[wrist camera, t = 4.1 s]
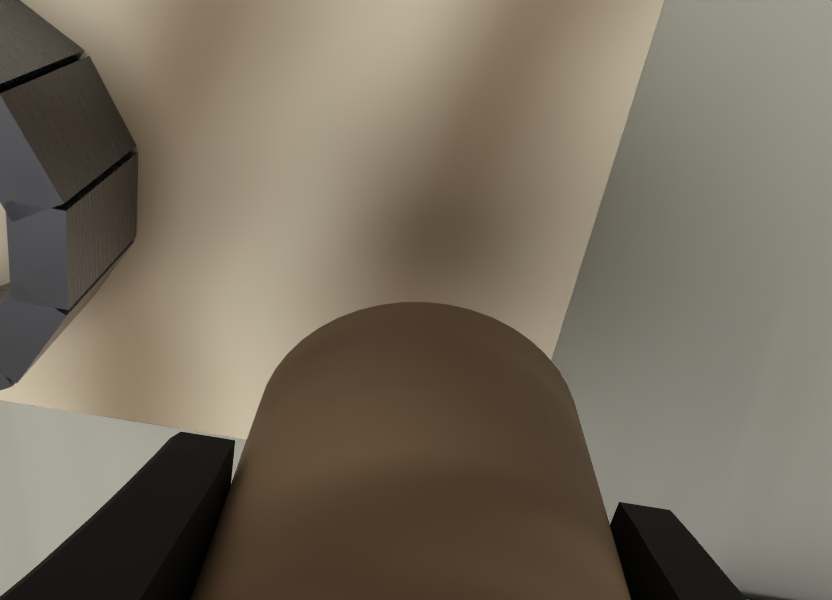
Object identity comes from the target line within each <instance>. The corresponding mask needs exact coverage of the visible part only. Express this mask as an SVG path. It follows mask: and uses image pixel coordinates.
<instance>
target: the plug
mask: <svg viewBox="0 0 832 600" xmlns="http://www.w3.org/2000/svg"><path fill="white" fill-rule="evenodd" d="M191 600H631V597H630V593H629V590H628V586H627V583H626V579H625V576H624V573H623V569H622V566H621V562H620V559H619V555H618V552H617V548H616V545H615V542H614V538H613V535H612V531H611V528H610V524H609V521H608V517H607V514H606V510H605V507H604V504H603V500H602V497H601V493H600V490H599V486H598V483H597V479H596V476H595V473H594V469H593V466H592V462H591V459H590V455H589V452H588V448H587V445H586V441H585V438H584V435H583V431H582V428H581V424H580V421H579V417H578V414H577V410H576V407H575V404H574V401H573V398H572V396H571V393H570V391H569V388H568V386H567V384H566V382H565V380H564V379H563V377H562V375H561V374H560V372H559V370H558V369H557V368H556V366H555V365H554V364H553V363H552V361H551V360H550V359H549V358H548V357H547V355H546V354H545V353H544V352H543V351H542V350H541V349H539V348H538V347H537V346H536V345H535V344H534V343H533V342H532V341H531V340H529V339H528V338H527V337H525V336H524V335H522V334H521V333H519V332H518V331H517V330H515V329H514V328H512V327H510V326H508V325H506V324H504V323H502V322H500V321H499V320H497V319H495V318H492V317H490V316H487V315H484V314H482V313H479V312H476V311H474V310H470V309H466V308H462V307H457V306H453V305H448V304H440V303H431V302H400V303H391V304H383V305H378V306H373V307H369V308H365V309H361V310H357V311H355V312H352V313H349V314H347V315H344V316H341V317H339V318H337V319H335V320H333V321H331V322H329V323H327V324H325V325H323V326H321V327H320V328H318V329H317V330H315V331H314V332H312V333H311V334H310V335H308V336H307V337H305V338H304V339H303V340H301V341H300V342H299V343H298V344H297V345H296V346H295V347H294V348H293V349H292V350H291V351H290V352H289V353H288V354H287V355H286V356H285V357H284V359H283V360H282V361H281V362H280V364H279V365H278V366H277V367H276V369H275V370H274V372H273V374H272V376H271V378H270V379H269V381H268V383H267V385H266V387H265V390H264V393H263V395H262V398H261V401H260V403H259V406H258V409H257V412H256V415H255V418H254V421H253V423H252V426H251V429H250V432H249V435H248V438H247V440H246V443H245V446H244V449H243V452H242V455H241V458H240V460H239V463H238V466H237V469H236V472H235V475H234V477H233V480H232V483H231V486H230V489H229V492H228V495H227V498H226V500H225V503H224V506H223V509H222V512H221V515H220V518H219V520H218V523H217V526H216V529H215V532H214V535H213V537H212V540H211V543H210V546H209V549H208V552H207V554H206V557H205V560H204V563H203V566H202V569H201V571H200V574H199V577H198V580H197V583H196V586H195V588H194V591H193V594H192V597H191Z"/></svg>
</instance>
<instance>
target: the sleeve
mask: <svg viewBox="0 0 832 600" xmlns="http://www.w3.org/2000/svg"><path fill="white" fill-rule="evenodd" d="M84 51H85V50H84V49H83V48H81V47H80V46H79V45H77V44H76V43H75V42H73V41H72V40H71V39H70V38H68V37H67V36H66V35H64V34H63V33H62V32H60V31H59V30H58V29H57V28H55V27H54V26H53V25H51V24H50V23H49V22H47V21H46V20H45V19H44V18H42V17H41V16H40V15H38V14H37V13H36V12H34V11H33V10H32V9H31V8H29V7H28V6H27V5H25V4H24V3H23V2H21V1H20V0H0V203H1V205H2V206H3V208H4V209H5V211H6V224H7V241H8V257H9V273H10V283H7V284H4V285H1V286H0V390H3V389H6V388H10V387H13V385H14V384H15V383H18V382H19V381H20V380H21V378H22V377H23V376H24V375H25V374H26V373H27V372H28V371H29V369H30V368H31V367H32V366H33V365H34V364H35V363H36V361H37V360H38V359H39V358H40V357H41V356H42V355H43V353H44V352H45V351H46V350H47V349H48V348H49V347H50V346H51V344H52V343H53V342H54V341H55V340H56V339H57V338H58V336H59V335H60V334H61V333H62V332H63V331H64V330H65V328H66V327H67V326H68V325H69V324H70V323H71V322H72V321H73V319H74V318H75V317H76V316H77V315H78V314H79V313H80V311H81V310H82V309H83V308H84V307H85V306H86V305H87V303H88V302H89V301H90V300H91V299H92V298H93V296H94V295H95V294H96V292H97V291H98V290H99V288H100V287H101V285H102V284H103V283H104V281H105V280H106V279H107V277H108V276H109V275H110V273H111V272H112V271H113V269H114V268H115V267H116V265H117V264H118V263H119V261H120V260H121V259H122V257H123V256H124V255H125V253H126V252H127V251H128V249H129V248H130V246H131V245H132V244H133V242H134V240H133V239H134V238H135V237H136V234H137V187H138V152H135V151H131V150H132V149H133V148H135V147H136V144H135V142H134V140H133V138H132V136H131V134H130V132H129V130H128V128H127V126H126V125H125V123H124V121H123V119H122V117H121V115H120V113H119V111H118V109H117V107H116V105H115V104H114V102H113V100H112V98H111V96H110V94H109V92H108V90H107V88H106V86H105V84H104V83H103V81H102V79H101V77H100V75H99V73H98V71H97V69H96V67H95V65H94V63H93V62H92V60H91V58H90V56H88V57H86V58H83V59H81V60H79V58H80V57H81V55H82V54H83V52H84Z"/></svg>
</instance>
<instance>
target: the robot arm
mask: <svg viewBox="0 0 832 600" xmlns="http://www.w3.org/2000/svg"><path fill="white" fill-rule="evenodd" d="M234 446H235V440H229V439H223V438H217V437H211V436H204V435H198V434H192V433H186V432H180V433H178V434H176V435H175V436H173V437H172V438H170V439H169V440H168V441H167V442H166V443H165V444H164V445H163V446H162V448H161V449H160V450H159V451H158V452H157V453H156V454H155V455H154V456H153V457H152V458H151V459H150V460H149V461H148V462H147V463H146V464H145V465H144V466H143V467H142V468H141V469H140V470H139V471H138V472H137V473H136V474H135V475H134V476H133V477H132V478H131V479H130V480H129V481H128V482H127V483H126V484H125V485H124V486H123V487H122V488H121V489H120V490H119V491H118V492H117V493H116V494H115V495H114V496H113V497H112V498H111V499H110V500H109V501H108V502H107V503H106V504H105V505H104V506H102V507H101V508H100V509H99V510H98V511H97V512H96V513H95V514H94V515H93V516H92V517H91V518H90V519H89V520H87V521H86V522H85V523H84V524H83V525H82V526H81V527H80V528H79V529H78V530H76V531H75V532H74V533H73V534H72V535H71V536H70V537H69V538H68V539H66V540H65V541H64V542H63V543H62V544H61V545H60V546H59V547H58V548H57V549H55V550H54V551H53V552H52V553H51V554H50V555H49V556H48V557H47V558H45V559H44V560H43V561H42V562H41V563H40V564H39V565H38V566H36V567H35V568H34V569H33V570H32V571H31V572H29V573H28V574H27V575H26V576H25V577H24V578H22V579H21V580H20V581H19V582H18V583H16V584H15V585H14V586H13V587H11V588H10V589H9V590H8V591H7V592H5V593H4V594H3V595H2V596H0V600H191V597H192V594H193V591H194V588H195V586H196V583H197V580H198V577H199V574H200V571H201V569H202V566H203V563H204V560H205V557H206V554H207V552H208V549H209V546H210V543H211V540H212V537H213V535H214V532H215V529H216V526H217V523H218V520H219V518H220V515H221V512H222V509H223V506H224V503H225V500H226V498H227V495H228V492H229V489H230V486H231V477H232V467H233V457H234ZM610 528H611V531H612V535H613V538H614V542H615V545H616V548H617V552H618V555H619V559H620V562H621V566H622V569H623V573H624V576H625V579H626V583H627V586H628V590H629V593H630V597H631V600H748V599H746V598H745V597H744V596H743V595H742V594H741V593H740V591H739V590H738V589H737V588H736V587H735V585H734V584H733V583H732V582H731V581H730V579H729V578H728V577H727V576H726V575H725V573H724V572H723V571H722V570H721V569H720V567H719V566H718V565H717V564H716V563H715V562H714V560H713V559H712V558H711V557H710V556H709V554H708V553H707V552H706V551H705V550H704V548H703V547H702V546H701V545H700V544H699V543H698V541H697V540H696V539H695V538H694V537H693V536H692V534H691V533H690V532H689V531H688V530H687V529H686V527H685V526H684V525H683V524H682V523H681V522H680V521H679V520H678V519H677V517H676V516H675V515H674V514H673V513H672V512H671V511H670V510H666V509H659V508H653V507H647V506H641V505H634V504H628V503H622V502H619V504H618V507H617V509H616V512H615V514H614V517H613V519H612V521H611V524H610Z"/></svg>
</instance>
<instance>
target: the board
mask: <svg viewBox="0 0 832 600" xmlns="http://www.w3.org/2000/svg"><path fill="white" fill-rule="evenodd" d="M20 1H21V2H23V3H24V4H25V5H27V6H28V7H29V8H31V9H32V10H33V11H34V12H36V13H37V14H38V15H40V16H41V17H42V18H44V19H45V20H46V21H47V22H49V23H50V24H51V25H53V26H54V27H55V28H57V29H58V30H59V31H60V32H62V33H63V34H64V35H66V36H67V37H68V38H70V39H71V40H72V41H73V42H75V43H76V44H77V45H79V46H80V47H81V48H83V49H84V50H85V51H84V52H83V54H82V55H81V57H80V58H79V60H81V59H83V58H86V57H88V56H90V58H91V60H92V62H93V63H94V65H95V67H96V69H97V71H98V73H99V75H100V77H101V79H102V81H103V83H104V84H105V86H106V88H107V90H108V92H109V94H110V96H111V98H112V100H113V102H114V104H115V105H116V107H117V109H118V111H119V113H120V115H121V117H122V119H123V121H124V123H125V125H126V126H127V128H128V130H129V132H130V134H131V136H132V138H133V140H134V142H135V144H136V147H135V148H133V149H132V150H131V151H135V152H138V187H137V234H136V237H135V238H134V239H133V240H134V242H133V244H132V245H131V246H130V248H129V249H128V251H127V252H126V253H125V255H124V256H123V257H122V259H121V260H120V261H119V263H118V264H117V265H116V267H115V268H114V269H113V271H112V272H111V273H110V275H109V276H108V277H107V279H106V280H105V281H104V283H103V284H102V285H101V287H100V288H99V290H98V291H97V292H96V294H95V295H94V296H93V298H92V299H91V300H90V301H89V302H88V303H87V305H86V306H85V307H84V308H83V309H82V310H81V311H80V313H79V314H78V315H77V316H76V317H75V318H74V319H73V321H72V322H71V323H70V324H69V325H68V326H67V327H66V328H65V330H64V331H63V332H62V333H61V334H60V335H59V336H58V338H57V339H56V340H55V341H54V342H53V343H52V344H51V346H50V347H49V348H48V349H47V350H46V351H45V352H44V353H43V355H42V356H41V357H40V358H39V359H38V360H37V361H36V363H35V364H34V365H33V366H32V367H31V368H30V369H29V371H28V372H27V373H26V374H25V375H24V376H23V377H22V378H21V380H20V381H19V382H18V383H15V384H14V385H13V387H10V388H6V389H3V390H0V400H3V401H10V402H16V403H22V404H28V405H35V406H41V407H47V408H53V409H60V410H66V411H72V412H78V413H84V414H91V415H97V416H103V417H109V418H116V419H122V420H128V421H134V422H141V423H147V424H153V425H159V426H165V427H172V428H178V429H184V430H190V431H197V432H203V433H209V434H215V435H222V436H228V437H234V438H240V439H247V438H248V435H249V432H250V429H251V426H252V423H253V421H254V418H255V415H256V412H257V409H258V406H259V403H260V401H261V398H262V395H263V393H264V390H265V387H266V385H267V383H268V381H269V379H270V378H271V376H272V374H273V372H274V370H275V369H276V367H277V366H278V365H279V364H280V362H281V361H282V360H283V359H284V357H285V356H286V355H287V354H288V353H289V352H290V351H291V350H292V349H293V348H294V347H295V346H296V345H297V344H298V343H299V342H300V341H301V340H303V339H304V338H305V337H307V336H308V335H310V334H311V333H312V332H314V331H315V330H317V329H318V328H320V327H321V326H323V325H325V324H327V323H329V322H331V321H333V320H335V319H337V318H339V317H341V316H344V315H347V314H349V313H352V312H355V311H357V310H361V309H365V308H369V307H373V306H378V305H383V304H391V303H400V302H431V303H440V304H448V305H453V306H457V307H462V308H466V309H470V310H474V311H476V312H479V313H482V314H484V315H487V316H490V317H492V318H495V319H497V320H499V321H500V322H502V323H504V324H506V325H508V326H510V327H512V328H514V329H515V330H517V331H518V332H519V333H521V334H522V335H524V336H525V337H527V338H528V339H529V340H531V341H532V342H533V343H534V344H535V345H536V346H537V347H538V348H539V349H541V350H542V351H543V352H544V353H545V354H546V355H547V357H548V358H549V359H550V360H552V356H553V353H554V350H555V347H556V344H557V341H558V337H559V334H560V331H561V328H562V325H563V321H564V318H565V315H566V312H567V309H568V306H569V302H570V299H571V296H572V293H573V290H574V286H575V283H576V280H577V277H578V274H579V270H580V267H581V264H582V261H583V258H584V255H585V251H586V248H587V245H588V242H589V239H590V235H591V232H592V229H593V226H594V223H595V220H596V216H597V213H598V210H599V207H600V204H601V200H602V197H603V194H604V191H605V188H606V185H607V181H608V178H609V175H610V172H611V169H612V165H613V162H614V159H615V156H616V153H617V149H618V146H619V143H620V140H621V137H622V134H623V130H624V127H625V124H626V121H627V118H628V114H629V111H630V108H631V105H632V102H633V99H634V95H635V92H636V89H637V86H638V83H639V79H640V76H641V73H642V70H643V67H644V64H645V60H646V57H647V54H648V51H649V48H650V44H651V41H652V38H653V35H654V32H655V28H656V25H657V22H658V19H659V16H660V13H661V9H662V6H663V3H664V0H20ZM7 283H10V273H9V257H8V241H7V224H6V211H5V209H4V208H3V206H2V205H1V203H0V286H1V285H4V284H7Z"/></svg>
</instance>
